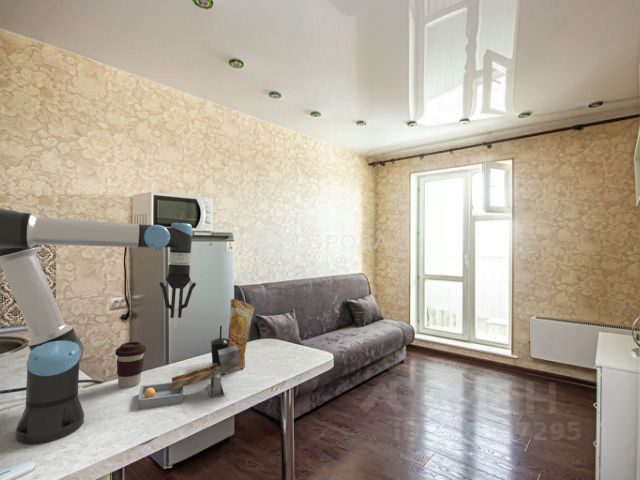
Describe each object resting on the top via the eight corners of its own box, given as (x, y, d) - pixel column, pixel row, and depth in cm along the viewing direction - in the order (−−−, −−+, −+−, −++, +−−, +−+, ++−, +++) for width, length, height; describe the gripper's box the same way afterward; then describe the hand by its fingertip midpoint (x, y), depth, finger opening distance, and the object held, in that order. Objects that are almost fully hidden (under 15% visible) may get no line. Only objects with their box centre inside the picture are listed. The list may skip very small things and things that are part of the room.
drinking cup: (222, 378, 132) (224, 328, 132) (205, 376, 134) (207, 327, 134) (231, 371, 140) (233, 324, 140) (215, 369, 141) (217, 322, 141)
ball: (143, 391, 111) (154, 389, 112) (144, 387, 114) (155, 385, 115) (144, 401, 111) (155, 399, 112) (144, 397, 114) (155, 394, 115)
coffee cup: (116, 392, 118) (118, 350, 118) (112, 382, 125) (113, 342, 125) (146, 385, 124) (148, 345, 124) (141, 376, 132) (142, 338, 132)
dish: (137, 409, 107) (137, 400, 107) (140, 393, 117) (141, 385, 117) (182, 402, 112) (183, 394, 112) (182, 388, 123) (182, 380, 123)
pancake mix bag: (234, 355, 159) (237, 297, 159) (253, 368, 144) (256, 304, 145) (221, 358, 155) (223, 298, 155) (239, 371, 140) (242, 305, 140)
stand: (209, 397, 116) (210, 373, 116) (207, 385, 126) (207, 363, 126) (224, 395, 118) (225, 371, 118) (220, 383, 128) (221, 361, 128)
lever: (172, 390, 113) (168, 370, 113) (172, 377, 124) (169, 359, 123) (242, 368, 123) (238, 349, 122) (236, 357, 133) (233, 340, 133)
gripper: (159, 263, 119) (155, 329, 118) (198, 265, 124) (194, 328, 123) (161, 262, 126) (156, 324, 125) (197, 263, 131) (193, 323, 130)
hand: (175, 326), depth 124 cm, fingers closed
